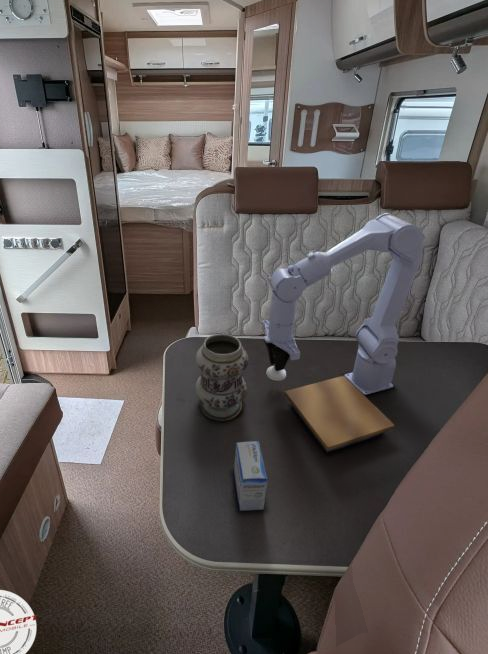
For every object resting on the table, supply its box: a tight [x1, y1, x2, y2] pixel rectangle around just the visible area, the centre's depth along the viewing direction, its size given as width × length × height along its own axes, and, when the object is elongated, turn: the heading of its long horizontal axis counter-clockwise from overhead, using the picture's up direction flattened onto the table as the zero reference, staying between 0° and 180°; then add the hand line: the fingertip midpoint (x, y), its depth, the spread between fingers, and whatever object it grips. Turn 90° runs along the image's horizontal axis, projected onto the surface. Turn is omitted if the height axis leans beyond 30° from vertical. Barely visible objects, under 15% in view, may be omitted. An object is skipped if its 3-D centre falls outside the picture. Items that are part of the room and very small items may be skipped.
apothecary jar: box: [195, 333, 249, 422], centre depth 84 cm, size 12×12×18 cm
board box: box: [283, 375, 396, 454], centre depth 83 cm, size 17×17×4 cm
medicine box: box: [233, 440, 268, 512], centre depth 66 cm, size 8×4×9 cm, turn 5°
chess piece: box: [265, 346, 287, 382], centre depth 89 cm, size 5×5×10 cm
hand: (276, 366), depth 90 cm, fingers closed on chess piece
